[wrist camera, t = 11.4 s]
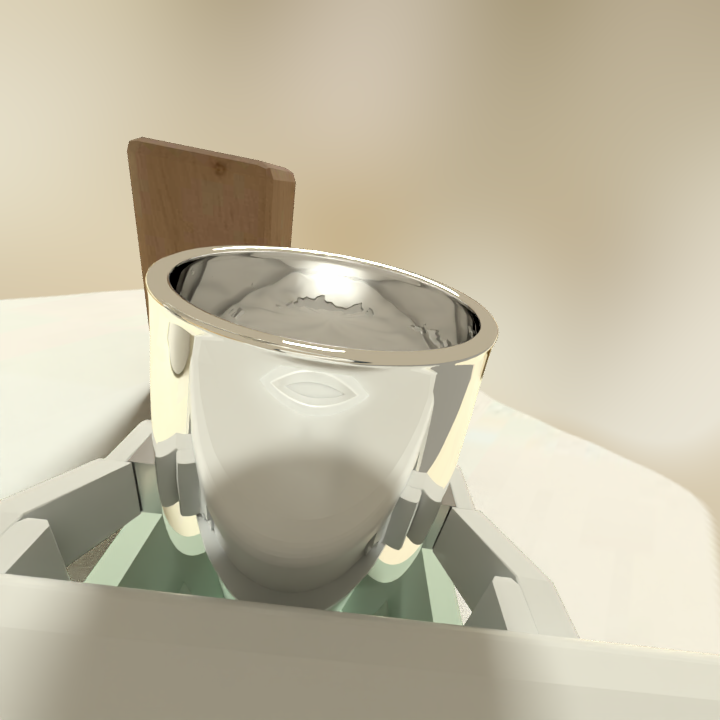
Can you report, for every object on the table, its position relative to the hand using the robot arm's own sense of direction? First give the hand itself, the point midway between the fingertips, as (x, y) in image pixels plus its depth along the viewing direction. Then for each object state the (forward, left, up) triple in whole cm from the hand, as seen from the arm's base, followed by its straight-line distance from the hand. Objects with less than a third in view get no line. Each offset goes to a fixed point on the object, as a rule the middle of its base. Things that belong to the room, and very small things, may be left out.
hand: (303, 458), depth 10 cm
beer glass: (0, -1, -9) cm, 10 cm away
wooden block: (-11, +23, -12) cm, 28 cm away
